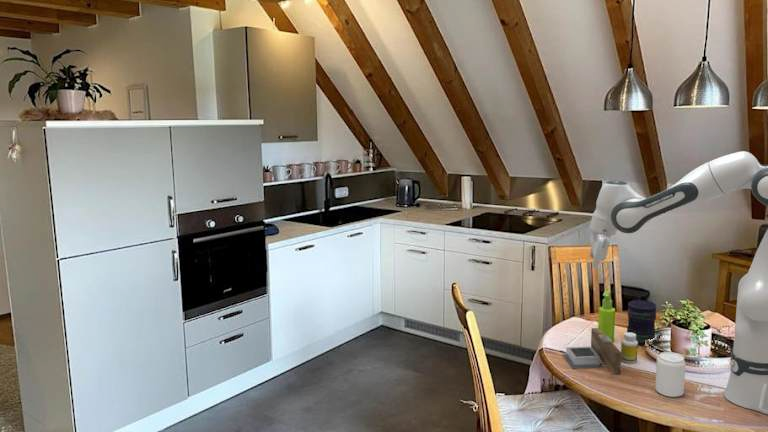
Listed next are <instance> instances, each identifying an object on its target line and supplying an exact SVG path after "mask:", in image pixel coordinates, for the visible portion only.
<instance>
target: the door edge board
mask: <svg viewBox="0 0 768 432" xmlns="http://www.w3.org/2000/svg"><path fill="white" fill-rule="evenodd" d="M590 331H591V335H590V336H591V337H590V339H591V340H590V347H592V348H593V349H594V351H595V352H596V353H597V354H598V355H599V356H600V362H601V363H603V365H604V366H605V367H606V368H607V370H608V371H610V373H611V374H612V375H614V376H615V375H617V376H619V375H620V376H621V374H622V373H621V371H622V370H621V369H622V368H621V367H622V360H621V350H619V349H618V347H617V346H616V345H615V344H614V343H613V341H612V340H611V339H610V338H609V337H608V336H607V335H604V334H603V333H602V332H601V331H600V330H599V329H598V327H595V328H593V327H592V328H591V330H590Z"/></svg>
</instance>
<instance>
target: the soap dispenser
mask: <svg viewBox="0 0 768 432" xmlns="http://www.w3.org/2000/svg"><path fill="white" fill-rule="evenodd" d="M611 293H612V291H610V290H605V291H604V292H603V294H602V296H603V297H604V298H603V299H602V306H599V307H598V320H597V321H598V323H597V324H598V325H597V328H598V329H599V330H600V331H601V332H602V333H603V334H604V335H607V336H608V337H609V338H610V339H611V340H612V341H613V344H614V343H615V327H616V326H615V325H616V324H615V323H616V308H614V307H613V300H612V299H611Z"/></svg>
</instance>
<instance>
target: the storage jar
mask: <svg viewBox="0 0 768 432" xmlns="http://www.w3.org/2000/svg"><path fill="white" fill-rule="evenodd" d="M627 318H628V319H627V320H628V321H627V323H628V325H627V327H626V332H631V333H634V334H636V339H635V340H637V342H638V347H645V346H644V345H645V340H646V339H650V340H651V339H653V338H655V337H656V329H655V323H656V320H657V304H656V303H655V302H652V301H650V300H649V301H648V300H644V299H643V300H642V299H635V300H631V301H629V302H628V308H627ZM655 339H656V338H655Z"/></svg>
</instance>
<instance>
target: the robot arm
mask: <svg viewBox="0 0 768 432" xmlns="http://www.w3.org/2000/svg"><path fill="white" fill-rule="evenodd" d="M743 189H749V190H751V193H752V195H753V197H754V198H755V199H756V200H757V201H758V202H760V203H761V204H762V205H764V206H765V207H767V208H768V164H761V163H760V162H759V161H758V158H756V157H755V155H753V154H752V153H751V152H748V151H745V150H742V151H737V152H736V151H735V152H733V153H732V152H731V153H729V154H726V155H723V156H720V157H717V158H714V159H713V160H710V161H707V162H705V163H702V164H701V165H700V166H699V165H698V166H697V167H696V168H694V169H692V170H691V171H690V172H689V173H687V174H685V175H684V176H683V177H682V178H681V179H680V180H678V181H677V182H676V183H674V184H673V185H671V186H670V187H668V188H667V189H665V190H663V191H660V192H658V193H656V194H654V195H651V196H649V197H647V198H646V197H644V196H642V195H641V194H639V193H638V192H636V191H635V190H634V189H633V188H632V187H631V186H630V184H629V183H628V182H626V181H622V180H609V181H606V182H605V183H603V185H602V186H601V188H600V190H599V192H598V197H597V199H596V203H595V205H596V206H595V207H596V208H595V209H594V211H593V214H592V217H591V220H590V223H589V229H590V235H589V242H590V246H591V247H590V252H589V257H590V259H593V261H592V263H591V268H593V269H598V267H599V265H600V263H601V261H603V262H604V261H606V258H607V254H608V250H609V248H610V247H609V246H610V241H611V240H610V239H611V237H612V236H614V235H616V234H617V231H619V232H620V233H623V234H633V233H636V232H637V231H640V229H641V228H642V227H644V225H647V223H649V222H650V221H651V220H652V219H654V218H657V217H659V216H661V215H664V214H665V213H668V212H670V211H671V212H672V211H673V210H675V209H678V208H681V207H685V206H689V205H692V204H694V205H695V204H698V203H703V202H707V201H711V200H714V199H717V198H720V197H723V196H725V195H728V194H731V193H734V192H735V191H739V190H743ZM735 311H736V313H735V323H734V325H735V326H734V339H733V350H732V351H731V353H730V354H731V355H730V372H729V377H728V380H727V381H728V382H727V384H726V387H725V388H724V391H723V395H724V397H725V399H727V400H728V401H729V402H730V403H733V404H735V405H737V406H739V407H742V408H745V409H749V410H754V411H757V412H760V413H763V414H765V415H768V228H766V231H765V233H764V235H763V237H762V239H761V241H760V243H759V246H758V247H757V249H756V251H755V254H754V257H753V260H752V263H751V265H750V267H749V270H748V272H747V273H746V274H744V275H743V276H742V277H741V278H740V279H739V281H738V286H737V299H736V310H735Z"/></svg>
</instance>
